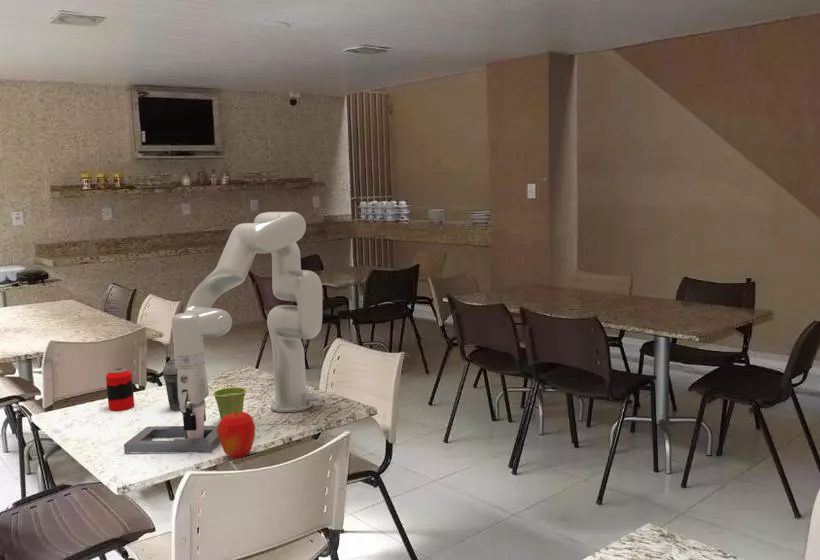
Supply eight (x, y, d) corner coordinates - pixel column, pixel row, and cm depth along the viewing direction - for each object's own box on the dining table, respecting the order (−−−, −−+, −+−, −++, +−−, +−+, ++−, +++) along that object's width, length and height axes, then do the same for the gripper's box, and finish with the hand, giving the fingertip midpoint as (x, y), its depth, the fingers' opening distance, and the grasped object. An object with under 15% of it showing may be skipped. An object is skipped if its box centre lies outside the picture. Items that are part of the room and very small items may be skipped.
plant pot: (210, 419, 211) (208, 391, 210) (240, 413, 216) (238, 385, 215) (222, 427, 203) (220, 397, 202) (253, 420, 209) (251, 391, 208)
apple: (245, 447, 187) (242, 402, 185) (263, 455, 180) (261, 409, 179) (212, 457, 181) (209, 411, 179) (230, 466, 174) (227, 418, 172)
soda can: (135, 402, 231) (131, 366, 230) (133, 409, 224) (130, 372, 223) (109, 405, 229) (106, 369, 228) (107, 412, 222) (104, 374, 220)
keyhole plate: (228, 433, 198) (228, 425, 198) (211, 452, 184) (210, 443, 184) (147, 434, 199) (147, 426, 199) (124, 453, 186) (123, 444, 185)
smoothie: (201, 434, 196) (197, 384, 194) (213, 439, 191) (209, 388, 190) (179, 440, 192) (174, 389, 190) (191, 446, 187) (186, 394, 185)
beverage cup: (193, 405, 226) (188, 343, 224) (184, 412, 219) (179, 348, 217) (171, 405, 227) (166, 343, 225) (161, 412, 220) (156, 348, 217)
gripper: (191, 367, 180) (197, 436, 182) (214, 351, 197) (219, 415, 199) (162, 368, 180) (168, 437, 183) (188, 352, 197) (193, 415, 200)
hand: (195, 425), depth 191 cm, fingers closed on smoothie, 6 cm apart
